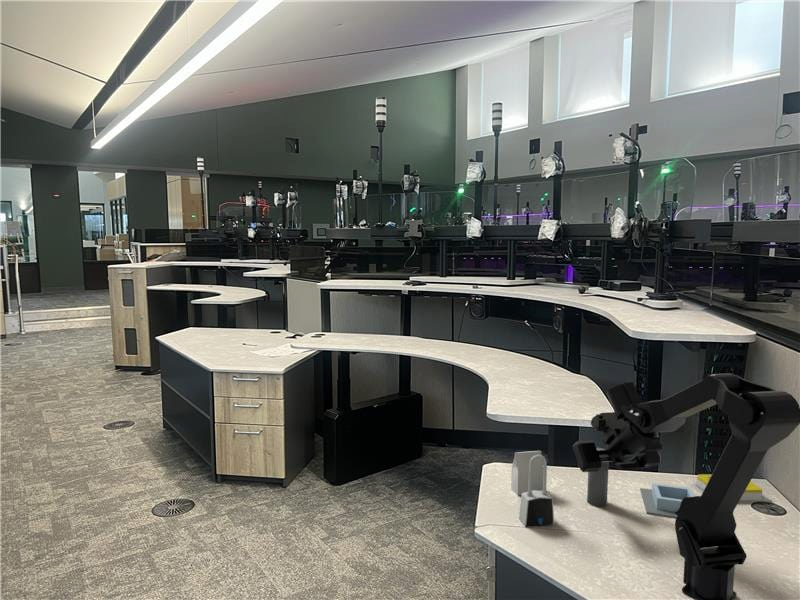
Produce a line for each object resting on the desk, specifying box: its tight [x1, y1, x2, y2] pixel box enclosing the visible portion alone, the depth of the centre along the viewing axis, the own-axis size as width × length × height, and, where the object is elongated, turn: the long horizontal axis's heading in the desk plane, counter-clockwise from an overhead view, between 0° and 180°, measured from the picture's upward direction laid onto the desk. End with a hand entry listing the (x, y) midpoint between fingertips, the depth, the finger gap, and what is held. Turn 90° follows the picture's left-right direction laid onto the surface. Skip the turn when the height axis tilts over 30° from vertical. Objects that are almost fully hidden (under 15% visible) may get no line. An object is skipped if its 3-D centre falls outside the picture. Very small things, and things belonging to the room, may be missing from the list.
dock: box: [639, 482, 696, 519], centre depth 121 cm, size 13×13×3 cm
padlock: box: [518, 454, 555, 528], centre depth 112 cm, size 7×4×15 cm, turn 100°
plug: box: [586, 447, 610, 508], centre depth 121 cm, size 4×4×12 cm
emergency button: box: [690, 473, 772, 502], centre depth 128 cm, size 9×4×15 cm
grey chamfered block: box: [511, 450, 544, 496], centre depth 127 cm, size 4×7×10 cm, turn 102°
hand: (600, 468), depth 120 cm, fingers open, 9 cm apart
